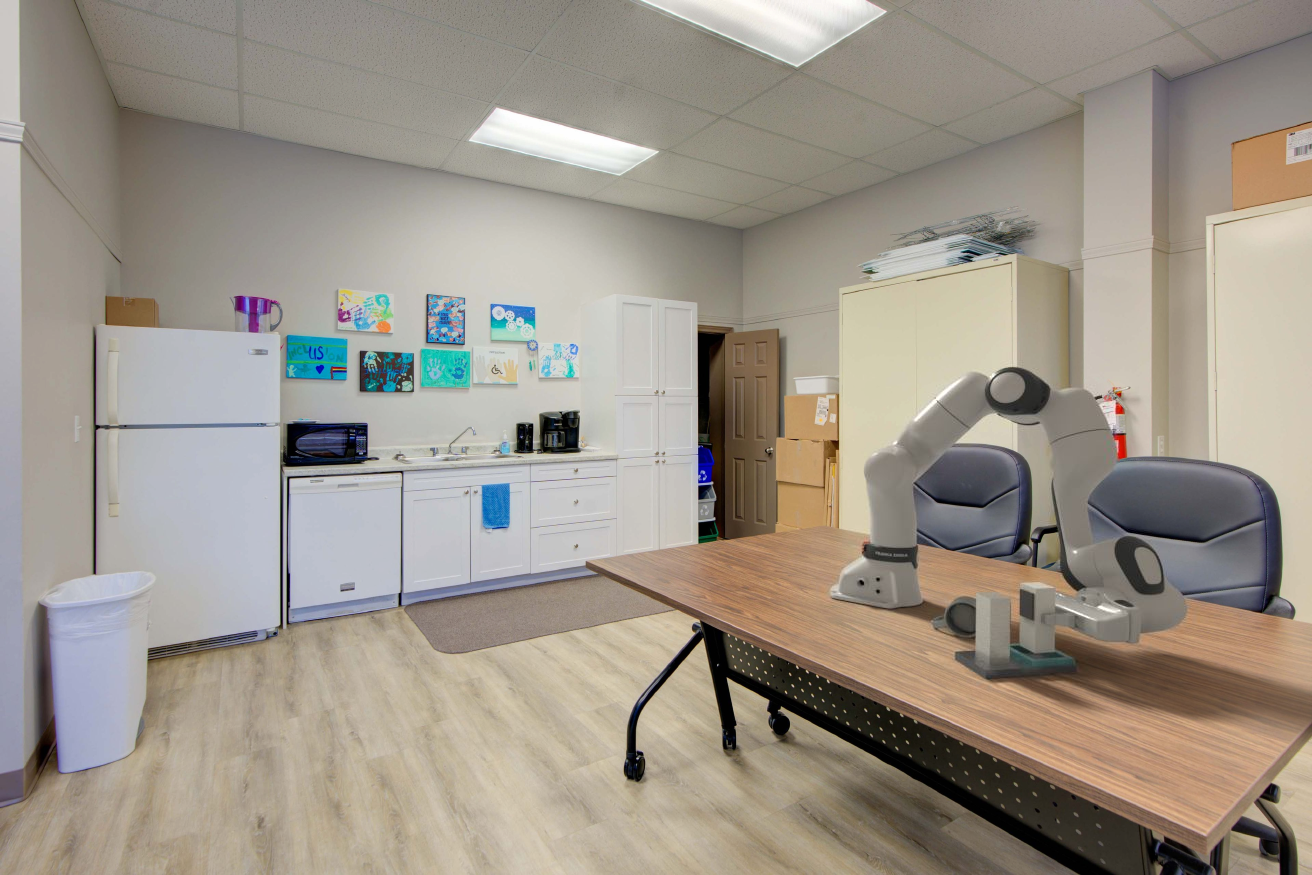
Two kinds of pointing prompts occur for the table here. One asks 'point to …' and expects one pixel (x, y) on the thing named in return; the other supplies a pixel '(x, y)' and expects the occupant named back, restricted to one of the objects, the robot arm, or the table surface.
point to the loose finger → (1036, 617)
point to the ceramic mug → (959, 617)
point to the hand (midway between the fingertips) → (1032, 614)
